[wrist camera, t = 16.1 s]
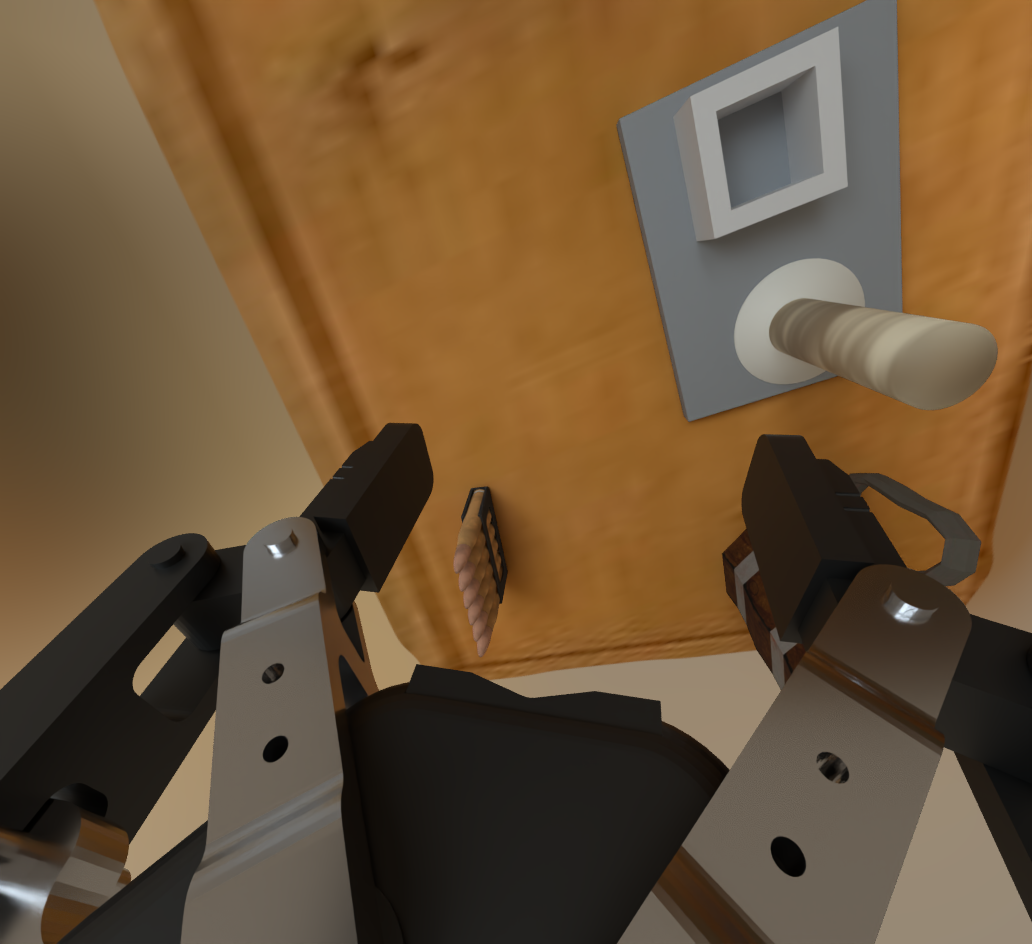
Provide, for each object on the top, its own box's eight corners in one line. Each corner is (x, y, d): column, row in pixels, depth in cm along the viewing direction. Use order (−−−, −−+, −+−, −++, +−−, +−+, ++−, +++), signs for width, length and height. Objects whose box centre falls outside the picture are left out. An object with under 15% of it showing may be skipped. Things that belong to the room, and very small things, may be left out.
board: (616, 125, 30) (628, 98, 25) (879, 0, 26) (953, -60, 21) (684, 416, 38) (702, 439, 33) (889, 352, 35) (945, 367, 30)
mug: (828, 622, 47) (938, 768, 33) (702, 604, 47) (760, 741, 34) (925, 455, 38) (1126, 563, 25) (768, 435, 38) (883, 530, 25)
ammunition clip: (470, 487, 43) (441, 563, 32) (488, 485, 43) (465, 561, 32) (491, 573, 48) (472, 665, 37) (507, 572, 47) (493, 664, 37)
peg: (765, 310, 32) (897, 342, 20) (824, 289, 32) (1000, 309, 19) (772, 361, 34) (898, 420, 21) (828, 343, 33) (994, 394, 21)
